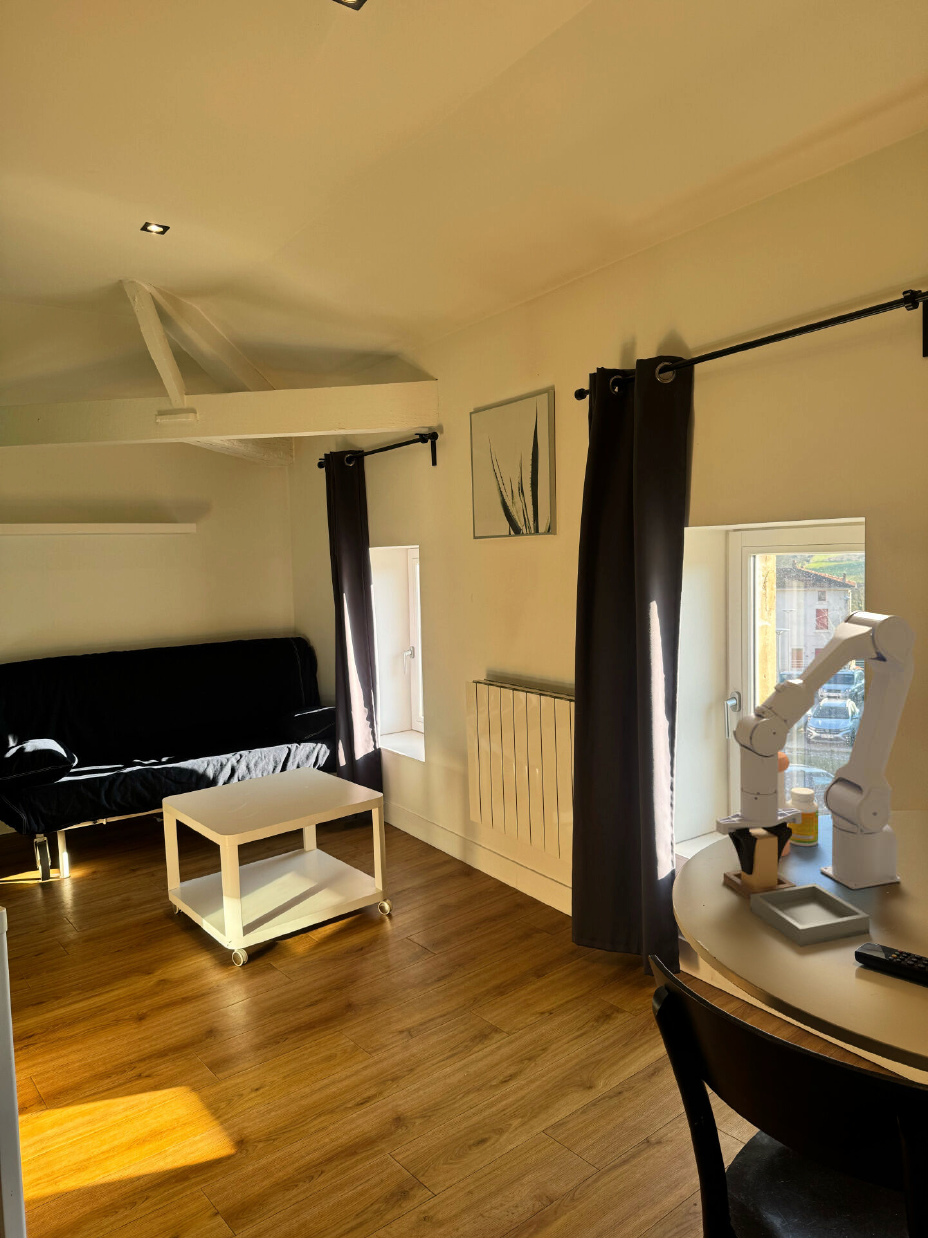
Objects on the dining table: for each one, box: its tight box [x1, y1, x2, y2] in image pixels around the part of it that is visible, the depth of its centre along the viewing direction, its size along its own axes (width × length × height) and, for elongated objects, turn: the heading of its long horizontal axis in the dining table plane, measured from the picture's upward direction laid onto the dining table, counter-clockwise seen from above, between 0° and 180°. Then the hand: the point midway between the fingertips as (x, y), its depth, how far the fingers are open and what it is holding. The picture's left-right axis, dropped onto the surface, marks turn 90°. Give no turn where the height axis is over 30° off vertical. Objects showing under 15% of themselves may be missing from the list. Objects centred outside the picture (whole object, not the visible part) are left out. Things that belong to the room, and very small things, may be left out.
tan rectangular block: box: [740, 829, 779, 889], centre depth 133 cm, size 4×4×9 cm
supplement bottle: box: [786, 787, 819, 847], centre depth 152 cm, size 5×5×10 cm
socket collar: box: [723, 869, 797, 902], centre depth 134 cm, size 8×8×2 cm
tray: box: [750, 883, 871, 947], centre depth 122 cm, size 12×12×2 cm
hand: (759, 870), depth 133 cm, fingers closed on tan rectangular block, 4 cm apart
